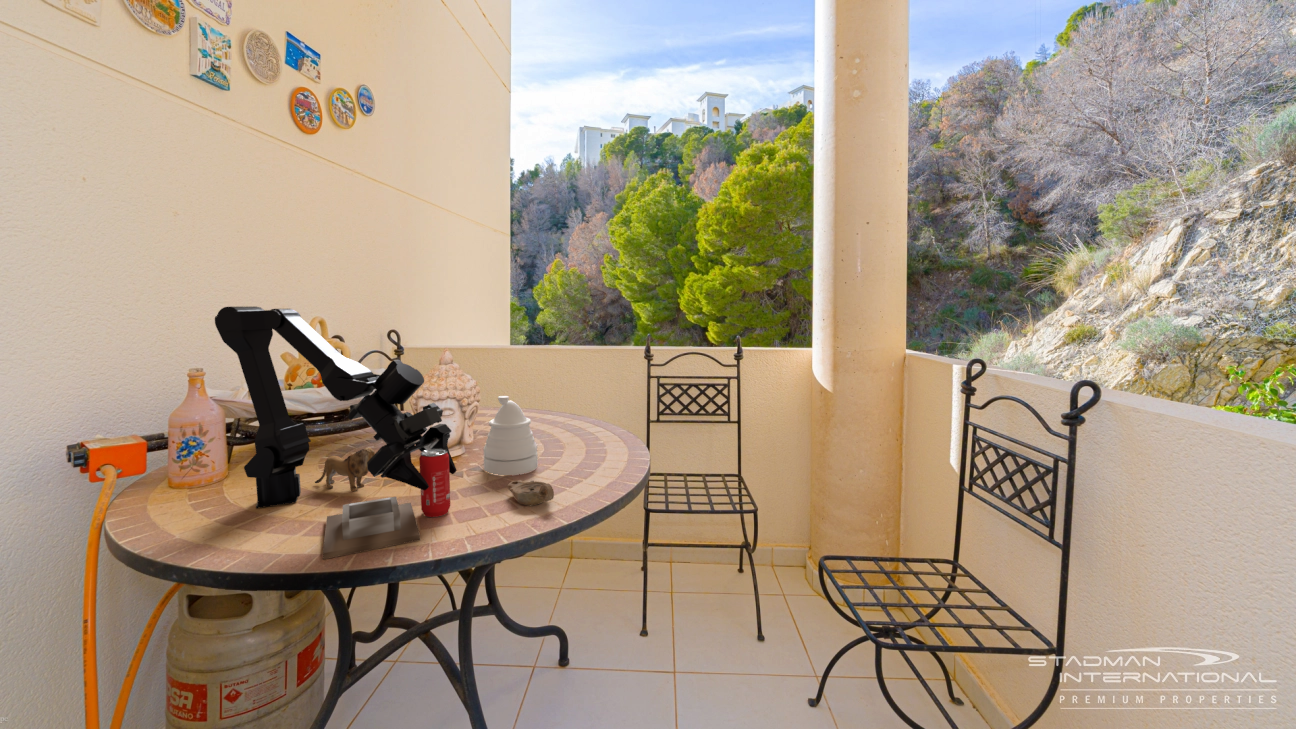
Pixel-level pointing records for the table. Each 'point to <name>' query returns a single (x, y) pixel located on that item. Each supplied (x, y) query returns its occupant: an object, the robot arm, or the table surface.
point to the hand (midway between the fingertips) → (441, 480)
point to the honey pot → (510, 442)
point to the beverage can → (435, 482)
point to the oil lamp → (531, 492)
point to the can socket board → (369, 527)
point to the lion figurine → (348, 468)
